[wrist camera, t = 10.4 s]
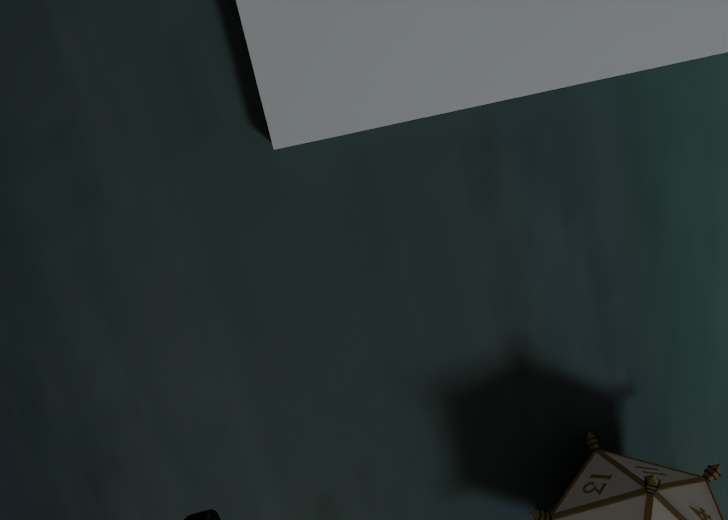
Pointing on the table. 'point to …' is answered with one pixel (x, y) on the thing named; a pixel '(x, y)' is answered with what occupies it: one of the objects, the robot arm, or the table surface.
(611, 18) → the board
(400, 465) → the table surface
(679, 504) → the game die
